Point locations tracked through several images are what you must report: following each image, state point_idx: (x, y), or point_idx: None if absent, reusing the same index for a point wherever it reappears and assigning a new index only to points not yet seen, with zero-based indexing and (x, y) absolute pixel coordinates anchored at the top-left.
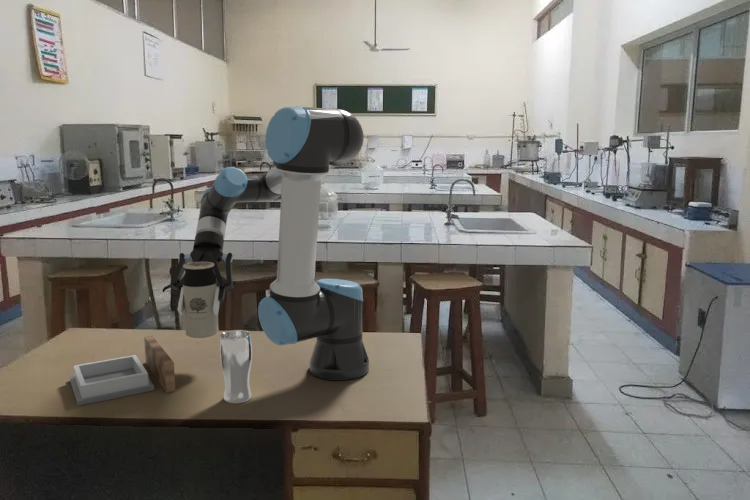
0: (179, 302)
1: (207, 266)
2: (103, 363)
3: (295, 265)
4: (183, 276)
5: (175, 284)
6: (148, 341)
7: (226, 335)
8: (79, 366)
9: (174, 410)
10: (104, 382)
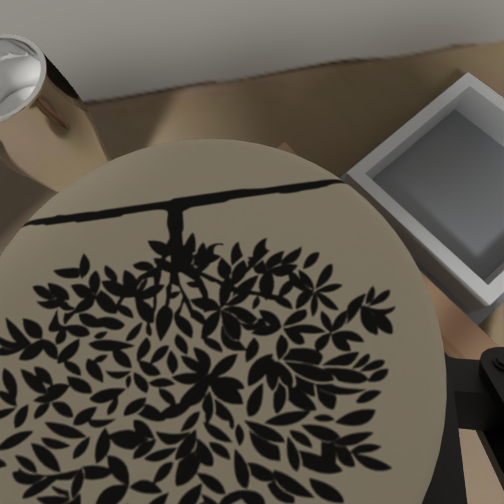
0: None
1: (17, 235)
2: None
3: None
4: (459, 448)
5: (478, 369)
6: (475, 326)
7: (40, 105)
8: None
9: (222, 113)
10: (428, 106)
